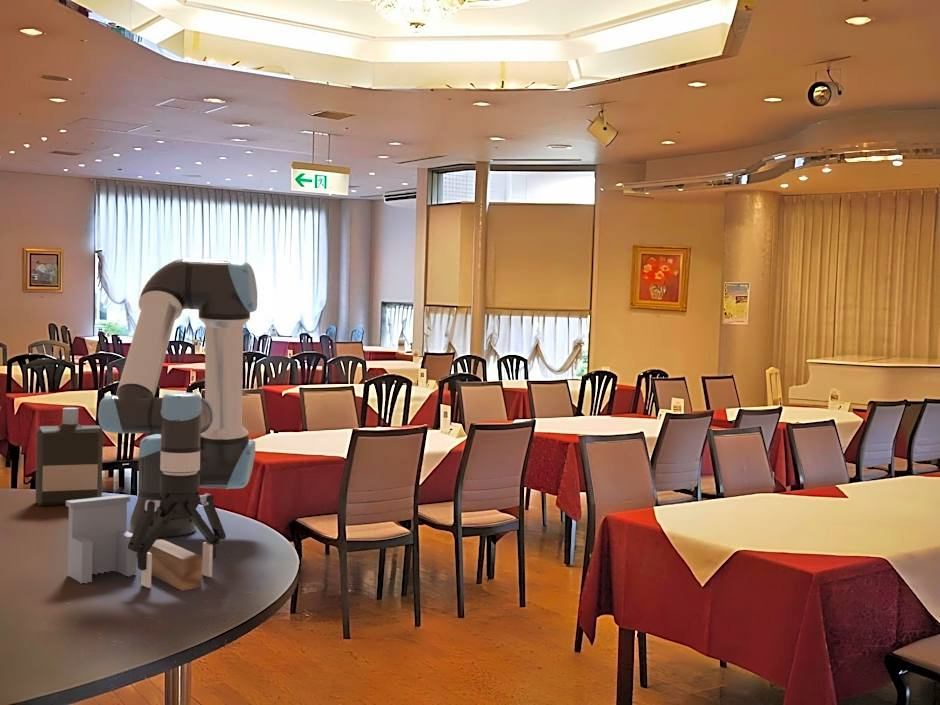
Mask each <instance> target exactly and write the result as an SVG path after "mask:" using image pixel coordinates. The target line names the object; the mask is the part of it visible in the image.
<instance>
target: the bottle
mask: <svg viewBox="0 0 940 705" xmlns="http://www.w3.org/2000/svg"><path fill="white" fill-rule="evenodd" d="M103 444H104V430H102V429H101V427H100V424H99V425H95V424H94V425H81V424H80V423H79V407H63V408H62V422H61V423H60V425H39V427H38V428H37V429H36V450H35V451H36V454H35V456H36V458H35V460H36V462H35V463H36V464H35V468H36V469H35V502H36V504H37V505H38V507H47V506H49V507H51V506H66V501H68V500H78V499H87V498H97V497H103V493H102V492H103V459H104V458H103V455H104V454H103V453H104V452H103V451H104V450H103V449H104V445H103Z"/></svg>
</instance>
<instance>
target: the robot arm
mask: <svg viewBox="0 0 940 705" xmlns="http://www.w3.org/2000/svg"><path fill="white" fill-rule="evenodd" d="M138 308H139V310H140V313H139V315H138V316H139V317H138V319H137V323H136V325H135V330H134V333H133V335H132V339H131V343H130V347H129V350H128V351H127V352H128V353H127V356H126V360H125V363H124V366H123V370H122V373H121V376H120V379H119V384H118V386H117V390H116V393H115V394H111V395H104V396H103V397H102V399H101V400H100V402H99V406H98V412H97V417H98V418H97V419H98V424H99V426H100V428H101V429H102V431H103V432H106V433H107V432H108V433H113V434H114V433H115V434H116V433H117V434H121V435H122V434H123V435H124V434H148V435H147V436H145V437H143V438H142V439H141V440H140V442H139V450H138V456H137V459H138V469H137V470H138V471H137V472H138V476H137V477H138V478H137V481H138V482H137V484H138V485H137V500H136V504H135V506H134V507H133V508H134V509H133V512H132V515H131V518H130V519H129V527H128V528H129V529H128V530H129V531H128V532H130V533H132V534H133V535H132V537H131V540H130V542H129V544H128V549H130V550H132V551H134V552H137V563H136V568H137V569H139V570H140V571H141V573H140V576H141V578H140V585H141V586H142V587H143V586H144V587H145V588H151V587H152V575H151V571H152V553H150V552H148V551H149V550H150V548H151V547H152V545H153V544H154V542H155V541H156V540H158V538H168V537H177V536H178V537H179V536H184V535H188V534H191V533H193V532H195V531H196V529H198V530H199V532H200V533H201V534H202V536H203V537H204V538H205V540H206V541H203V542H202V555H201V556H202V572H201V575H202V576H205V577H207V578H212V577H213V560H216V557H217V545H219V543H220V541H221V540H225V539H226V532H225V530H224V527H223V525H222V522H221V520H220V517H219V514H218V512H217V509H216V507H215V497H214V495H213V494H210V493H207V492H204V493H203V494H199V491H200V488H201V489H225V490H229V489H243V488H245V487H247V485H248V483H249V482H250V478H251V476H252V472H253V467H254V463H255V462H254V461H255V457H256V441H255V440H253V439H249V430H248V429H246V427H245V426H243V386H244V385H243V379H244V378H243V377H244V376H243V375H244V374H243V372H244V371H243V368H244V364H243V363H244V325H245V324H247V323H248V321H250V319H251V313H253V312H255V311H257V309H258V288H257V281H256V277H255V271H254V269H253V267H252V265H251V264H250V263H248V262H247V261H242V260H234V259H208V258H207V259H205V258H203V259H202V258H201V259H200V258H188V257H187V258H179V259H175V260H174V261H171V262H169V263H167V264H166V265H164V266H162V267H161V268H159V270H157V271H156V272H154V274H153V275H152V276H151V277H150V278H149V280H148V281H146V284H145V285H144V287H143V289H142V291H141V294H140V296H139V300H138ZM187 309H188V310H189V309H190V310H197V311H198V319H199V320H200V321H201V322H202V324H204V326H205V330H204V331H205V336H204V338H205V340H204V342H205V343H204V344H205V346H204V349H205V350H204V351H205V352H204V353H205V354H204V356H205V357H204V367H205V368H204V369H205V370H204V398H203V397H202V396H201V395H200V394H198V393H195V392H184V391H183V392H168V393H165V394H164V395H163V396H162V397H157V396H156V391H157V388H158V383H159V380H160V377H161V373H162V371H163V370H162V369H163V366H164V362H165V358H166V354H167V351H168V346H169V343H170V340H171V335H172V333H173V328H174V325H175V320H177V319H179V318H180V317H181V316H182V313H183V310H187ZM155 396H156V397H155ZM149 434H151V435H149ZM200 504H201V505H202V507H203V509H204V512H205V515H206V517H207V520H208V523H209V524H210V527H211V528H210V527H209V525H208V524H207V523H206V522H205V520H204V519H203V518H202V515H201V514H200V513H199V511H198V510H197V509H198V506H199V505H200Z"/></svg>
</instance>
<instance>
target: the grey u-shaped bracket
mask: <svg viewBox="0 0 940 705" xmlns="http://www.w3.org/2000/svg"><path fill="white" fill-rule="evenodd" d="M129 502H131V496H129V495H127V494H117V495H108V496H107V495H106V496H102V497H97V498H87V499H78V500H68V501H66V505H65V506H66V507H67V508H68V524H67V526H68V527H67V528H68V530H67V531H68V535H67V575H68V576H70V577H72V578H74V579H75V580H77V581H78V582H77V581H76V582H77V583H79V582H80V583H79V584H81V583H85V584H88V583H87V582H91V583H92V582H93V575H92V574H95V573H96V574H95V575H98V574H97V573H101V574H105V573H104V572H108V573H110V572H109V571H114V572H117V571H118V572H120V573H121V574H120V573H119V574H120V575H122V574H123V576H124V575H125V576H124V577H126V576H128V577H132V575H135V576H137V564H138V553H137V552H134V551H132V550H130V549H128V544H129V542H130V540H131V537H132V535H133V534H132V533H131V532H130V531H127V520H128V519H127V516H128V503H129ZM118 572H117V573H118ZM130 575H131V576H130ZM68 576H67V577H68ZM70 577H69V578H70ZM72 578H71V579H72ZM74 579H73V580H74ZM75 580H74V581H75Z"/></svg>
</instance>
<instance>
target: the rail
mask: <svg viewBox="0 0 940 705" xmlns="http://www.w3.org/2000/svg"><path fill="white" fill-rule="evenodd" d="M148 552H150V553H152V571H151V576H152V575H153V576H152V577H154V576H155V577H154V578H156V577H157V578H156V579H158V578H159V579H158V580H160V579H161V580H160V581H162V580H163V581H162V582H164V581H165V583H166V582H167V583H166V584H168V583H169V584H168V585H170V584H171V585H170V586H172V587H174V588H176V589H179V590H180V591H187V590H192V589H193V590H194V589H197V588H198V587H199V588H202V556H203V555H199V554H197V553H195V552H193V551H191V550H187V549H186V548H184V547H182V546H178V545H177V544H174V543H172V542H170V541H169V540H168V541H167V540H165V539H156V541H155V542H154V544H153V545H152V547H151V548H150V550H149V551H148Z"/></svg>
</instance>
